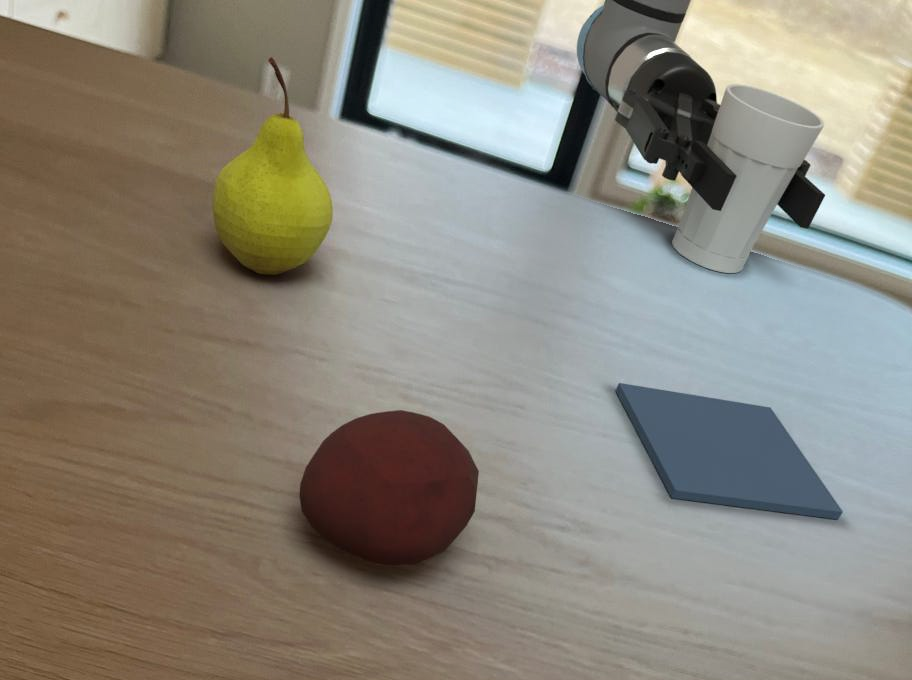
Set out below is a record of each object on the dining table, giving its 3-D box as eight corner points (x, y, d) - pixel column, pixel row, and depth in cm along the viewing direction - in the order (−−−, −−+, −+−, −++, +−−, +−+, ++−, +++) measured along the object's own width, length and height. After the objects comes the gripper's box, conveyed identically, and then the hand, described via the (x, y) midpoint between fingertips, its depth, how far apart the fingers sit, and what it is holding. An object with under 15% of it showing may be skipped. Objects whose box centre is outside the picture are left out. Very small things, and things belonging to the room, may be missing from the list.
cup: (645, 228, 88) (707, 77, 80) (717, 235, 92) (783, 92, 84) (696, 274, 83) (766, 119, 76) (769, 280, 87) (844, 133, 79)
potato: (491, 584, 48) (534, 478, 44) (327, 607, 44) (358, 493, 40) (421, 486, 52) (454, 381, 48) (266, 499, 48) (288, 385, 44)
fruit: (289, 240, 68) (324, 41, 60) (338, 293, 65) (382, 89, 57) (190, 240, 65) (213, 28, 57) (236, 296, 61) (268, 78, 53)
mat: (766, 414, 68) (770, 407, 68) (838, 519, 61) (843, 511, 60) (615, 390, 65) (618, 382, 65) (671, 498, 58) (675, 489, 57)
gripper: (737, 158, 101) (851, 268, 86) (548, 115, 95) (634, 227, 79) (774, 76, 96) (901, 177, 81) (577, 25, 90) (674, 125, 74)
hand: (769, 202), depth 80 cm, fingers closed on cup, 7 cm apart
